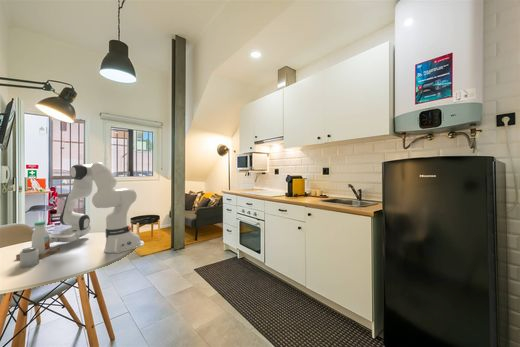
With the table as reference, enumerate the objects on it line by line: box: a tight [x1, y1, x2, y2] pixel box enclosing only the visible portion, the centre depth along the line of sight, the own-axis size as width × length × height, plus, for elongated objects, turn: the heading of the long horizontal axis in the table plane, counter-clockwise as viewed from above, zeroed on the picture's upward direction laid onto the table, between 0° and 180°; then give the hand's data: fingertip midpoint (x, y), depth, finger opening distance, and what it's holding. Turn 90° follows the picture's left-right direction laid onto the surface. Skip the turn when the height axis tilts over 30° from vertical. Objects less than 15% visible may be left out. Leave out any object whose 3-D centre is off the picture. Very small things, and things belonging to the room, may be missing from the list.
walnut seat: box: [15, 246, 61, 260], centre depth 130 cm, size 12×14×2 cm
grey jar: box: [19, 246, 40, 269], centre depth 117 cm, size 7×7×9 cm
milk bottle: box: [31, 220, 51, 254], centre depth 132 cm, size 8×8×20 cm
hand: (47, 242), depth 135 cm, fingers closed, pressing on milk bottle
